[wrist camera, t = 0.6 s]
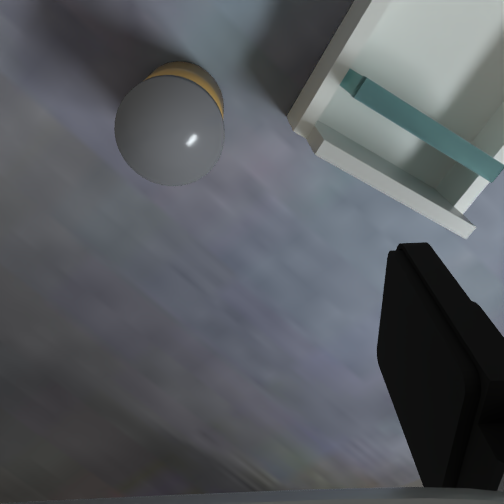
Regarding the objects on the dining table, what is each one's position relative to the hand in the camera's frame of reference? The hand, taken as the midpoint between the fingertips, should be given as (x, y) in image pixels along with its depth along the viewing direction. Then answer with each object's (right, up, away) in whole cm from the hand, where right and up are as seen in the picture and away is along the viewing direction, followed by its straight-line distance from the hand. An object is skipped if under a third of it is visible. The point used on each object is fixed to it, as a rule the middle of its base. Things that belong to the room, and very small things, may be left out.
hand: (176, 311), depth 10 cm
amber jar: (-3, +12, +24) cm, 27 cm away
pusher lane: (+14, +14, +23) cm, 31 cm away
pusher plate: (+12, +11, +23) cm, 29 cm away
